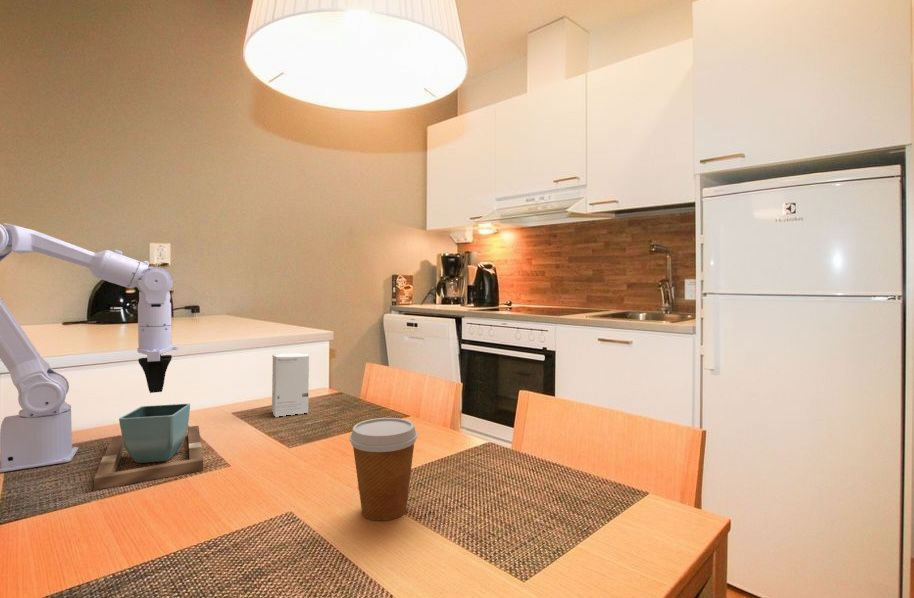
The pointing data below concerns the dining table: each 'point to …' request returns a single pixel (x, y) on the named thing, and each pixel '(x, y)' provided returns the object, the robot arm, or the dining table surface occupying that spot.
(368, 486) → the disposable coffee cup
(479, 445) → the dining table surface
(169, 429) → the flower pot
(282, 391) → the skincare box
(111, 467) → the wooden frame
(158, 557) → the dining table surface
